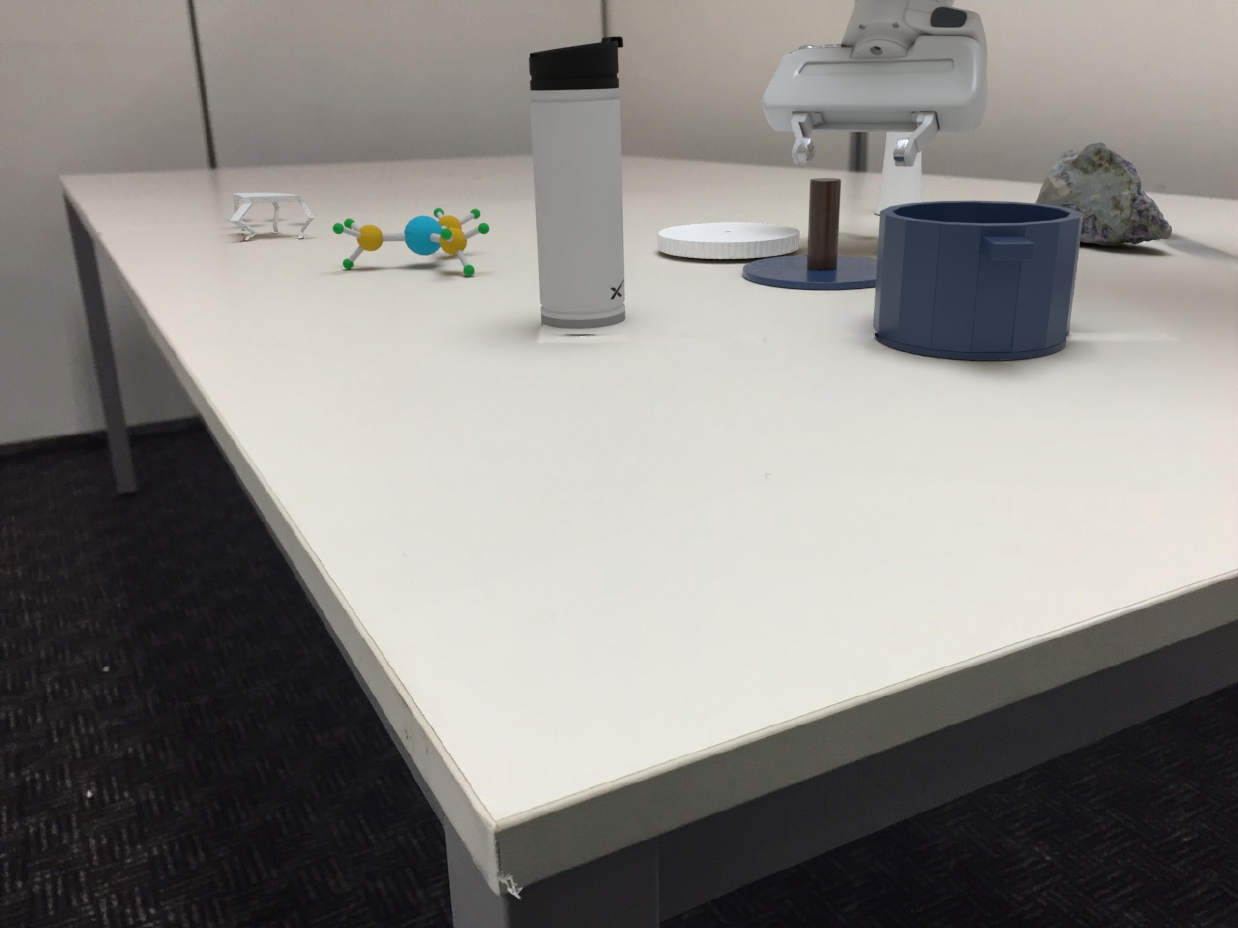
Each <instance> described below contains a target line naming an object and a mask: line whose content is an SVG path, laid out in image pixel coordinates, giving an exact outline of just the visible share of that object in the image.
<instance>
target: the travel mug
mask: <svg viewBox="0 0 1238 928" xmlns="http://www.w3.org/2000/svg"><path fill="white" fill-rule="evenodd" d="M619 48H622V49H623V48H624V38H623V37H622V36H605V37H604V36H603V37H602V38H601V41H599V42H593V43H585V44H579V45H572V46H565V47H564V46H563V47H558V48H552V49H546V50H540V51H535V52H530V53H529V57H528V68H529V71H528V72H529V76H530V80H529V89H530V90H529V98H530V99H531V100H530V103H529V106H530V107H529V109H530V124H531V125H530V126H531V127H530V128H531V147H532V164H533V165H532V166H533V168H532V169H533V184H534V185H533V186H534V205H535V206H534V207H535V226H536V246H537V247H536V248H537V264H538V265H537V266H538V281H539V282H538V285H539V302H540V305H541V306H540V325H541V326H543V325H546V326H549V327H553V328H559V329H573V330H575V329H577V330H578V329H579V330H580V329H581V330H582V329H596V328H604V327H610V326H614V325H618V324H620V323H622V322H624V321H625V320H626V305H625V300H626V298H625V296H626V295H625V294H626V293H625V291H626V290H625V256H624V255H625V254H624V253H625V251H624V250H625V249H624V209H623V208H624V206H623V165H622V163H623V161H622V159H623V158H622V122H621V121H622V120H621V119H622V117H621V116H622V115H621V99H619V96H620V95H621V88H620V78H619V77H618V74H619V71H620V68H619V67H620V65H619ZM563 335H564V336H565V335H566V336H593V335H594V333H580V334H579V333H571V334H570V333H563Z"/></svg>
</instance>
